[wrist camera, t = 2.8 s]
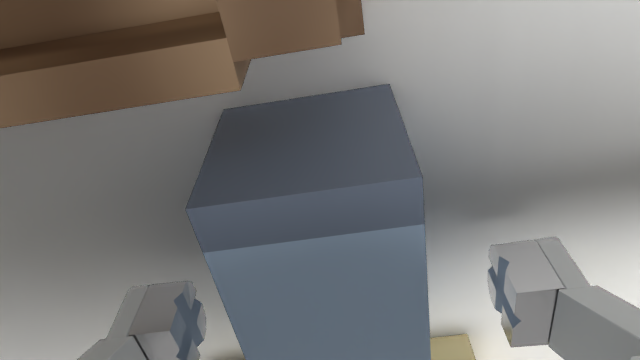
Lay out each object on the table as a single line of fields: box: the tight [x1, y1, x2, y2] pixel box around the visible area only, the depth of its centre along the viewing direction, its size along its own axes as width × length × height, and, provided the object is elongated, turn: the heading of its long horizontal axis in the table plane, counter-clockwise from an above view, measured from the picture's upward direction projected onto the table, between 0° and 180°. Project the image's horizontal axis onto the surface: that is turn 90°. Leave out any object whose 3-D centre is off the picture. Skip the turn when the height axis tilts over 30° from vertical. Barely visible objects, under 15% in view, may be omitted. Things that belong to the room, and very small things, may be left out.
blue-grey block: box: [185, 84, 431, 360], centre depth 12 cm, size 4×8×4 cm, turn 9°
